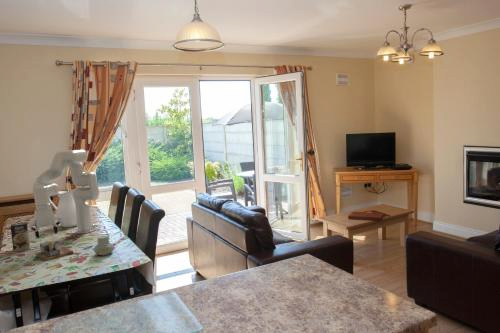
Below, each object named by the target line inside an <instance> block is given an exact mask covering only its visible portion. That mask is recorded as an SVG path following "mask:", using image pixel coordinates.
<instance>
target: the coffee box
mask: <svg viewBox="0 0 500 333" xmlns="http://www.w3.org/2000/svg"><path fill="white" fill-rule="evenodd" d="M10 233H11V242H12V251H13V252H20V251H24V250H25V251H26V250H30V249H31V243H30V234H29V223H28V222H20V223H12V224H10Z"/></svg>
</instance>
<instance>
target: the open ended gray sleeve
mask: <svg viewBox="0 0 500 333" xmlns="http://www.w3.org/2000/svg"><path fill="white" fill-rule="evenodd" d="M49 242H52V243H53V251H49ZM39 248H40V252H42V253H43V254H45V255H46V256H47V257H50V256H54V255H58V254H60V250H59V249H58V248H59V247H57V246H56V243H55V242H54V241H53V240H50V241H46V242H42V243H39Z"/></svg>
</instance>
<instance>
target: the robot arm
mask: <svg viewBox="0 0 500 333" xmlns="http://www.w3.org/2000/svg"><path fill="white" fill-rule="evenodd" d="M87 160H88V152H87V150H85V149H68V150H62V151H61V150H60V151H58V152H56V153H55V155H54V156H53V159H52V160H51V163H50V166H49V168H48V169H46V170H45V171H43V172H42V173H41V174H40V175H39V176H38V177H37V178H35V181H34V184H33V186H32V193H33V197H34V204H35V205H34V206H35V210H34V213H33V214H34V216H33V217H34V220H33V221H32V222H31V223H28V228H30V230H32V231H33V232H34V234H35V238H38V239H39V238H40V233H39V232H40V231H39V229H40V228H44V227H49V226H53V233H54V234H56V235H58V232H59V231H58V227H59V225H60V221H61V218H58V217H57V216H55V213H54V211H53V210H54V209H53V204H54V202H53V203H50V200H49V196H50V197H53V196H56V195H57V194H58V192H59V191H60V186H59V185H58V184H57V183H54V182H50V181H52V180H54V179H57V178H59V177H62V175H63V174H64V172H65V170H66V168H67V166H68V168H69V171H70V175H71V180H72V181H71V182H72V185H74V186H75V188H76V189H75V188H74V190H73V189H72V190H73V193H72V195H73V199H74V202H75V208H76V217H77V225H76V226H77V229H76V230H75V233H76V234H77V235H78V234H79V235H80V234H88V233H92V232H94V231H95V230H96V229H95V227H100V223H93V221H92V211H91V204H90V203H89V202H88V201H96V200H98V199H99V198H100V188H99V183H98V178H97V175H96V174H95V172H93V171H85V169H84V165H83V163H85V162H86V161H87ZM81 186H82V187H81ZM34 226H35V227H34Z"/></svg>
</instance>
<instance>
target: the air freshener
mask: <svg viewBox="0 0 500 333" xmlns="http://www.w3.org/2000/svg"><path fill="white" fill-rule="evenodd" d="M114 249H115V245H114V244H113V243H112V242H110V241H109V236H108V235H101V236H98V237H97V244H96V245H95V246H94V248H93V252H94V254H96V255H98V256H107V255H109V254H111V253H112V252H113V251H114Z"/></svg>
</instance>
